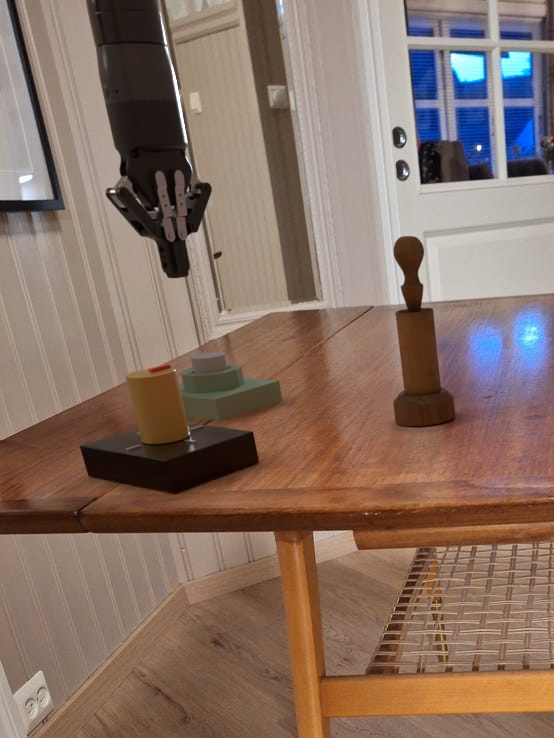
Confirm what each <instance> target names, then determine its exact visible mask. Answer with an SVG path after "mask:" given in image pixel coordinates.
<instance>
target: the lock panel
mask: <svg viewBox="0 0 554 738" xmlns="http://www.w3.org/2000/svg"><path fill="white" fill-rule="evenodd" d="M188 426H189V431H190V436H189V437H187V438H185V439H182V440H179V441H175V442H171V443H164V444H146V443H143V442H142V440H141V436H140V432H139V428H138V427H137V428H134V429H131V430H127V431H125V432H120V433H117V434H114V435H110V436H107V437H104V438H103V437H102V438H100V439H96V440H93V441H90V442H87V443H84V444H83V443H82V444H80V445H79V449H80V453H81V456H82V460H83V463H84V466H85V470H86V472H87V476H88V477H90V478H91V477H92V478H97V479H101V480H104V481H105V480H106V481H111V482H116V483H119V484H120V483H121V484H125V485H131V486H135V487H140V488H144V489H150V490H155V491H160V492H164V493H170V494H177V493H180V492H182V491H183V492H184V491H185V490H188V489H190V488H194V487H197V486H199V485H202V484H205V483H207V482H210V481H212V480H215V479H217V478H221V477H224V476H225V475H229V474H231V473H234V472H237V471H239V470H243V469H245V468H247V467H250V466H253V465H256V464H259V462H260V460H259V454H258V449H257V445H256V443H257V442H256V439H255V433H254V431H253V430H252V431H251V430H244V429H237V428H230V427H223V426H216V425H215V426H214V425H207V424H199V423H192V422H188Z"/></svg>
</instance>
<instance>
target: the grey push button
mask: <svg viewBox="0 0 554 738" xmlns="http://www.w3.org/2000/svg"><path fill="white" fill-rule="evenodd" d="M190 360H191V361H190V362H191V365H192V366H191V367H192V368H193V370H194V373H198V374H202V373H213V372H220V371H223V370H227V369H228V365H227V364H228V360H227V355H226V353H225V352H223V351H211V352H203V353H198V354H197V353H196V354H194V355H192V356H190Z"/></svg>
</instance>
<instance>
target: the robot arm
mask: <svg viewBox="0 0 554 738" xmlns="http://www.w3.org/2000/svg"><path fill="white" fill-rule="evenodd" d="M85 3H86V10H87V15H88V19H89V25H90V29H91V34H92V38H93V42H94V47H95V52H96V53H95V54H96V60H97V61H96V62H97V71H98V77H99V82H100V87H101V90H102V95H103V100H104V104H105V109H106V114H107V118H108V123H109V127H110V132H111V137H112V140H113V145H114V148H115V150H116V151H117V152H118V154H119V157H120V163H119V176H120V178H119V179H118V181H117V182H116V184H115V185H114V186H113V187H107V188H106V189H105V197H106V198H107V199H108V200H109V202H110V203H111V204H112V205H113V207H114V208H115V209H116V210H117V211H118V212H119V213H120V214H121V216H122V217H123V218H124V219H125V220H126V221H127V223H128V224H129V225H130V226H131V227H132V228H133V230H134V231H135V232H136V233H137V234H138V235H139V236H140V237H143V238H147V239H150V240H153V241H154V242H155V244H156V246H157V251H158V256H159V261H160V266H161V270H162V271H163V273H164V274H165V275H166V277H167V278H168V279H182V278H187V277H189V276H190V275H189V274H190V273H189V272H190V269H191V263H190V260H189V259H190V258H189V253H188V249H187V244H186V243H187V242H186V241H187V238H188V236H190V235H191V234H196V233H197V232H198V231H199V229H200V226H201V223H202V220H203V218H204V214H205V212H206V210H207V206H208V203H209V201H210V198H211V194H212V191H213V188H212V185H211V183H209V182H202V181H201V180H200V179H199V178H198V177H197V176H195V175H194V174H193V168H192V164H191V163H190V162H189V159H188V158H187V155H186V150H187V148H188V146H189V145H188V144H189V142H188V137H187V132H186V126H185V122H184V116H183V110H182V105H181V98H180V94H179V88H178V82H177V79H176V78H177V77H176V73H175V69H174V65H173V64H172V62H173V61H172V60H171V56H170V52H169V48H168V44H167V43H168V42H167V38H166V33H165V27H164V21H163V15H162V11H161V7H160V2H159V0H85ZM172 207H173V208H172Z"/></svg>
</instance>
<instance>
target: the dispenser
mask: <svg viewBox="0 0 554 738" xmlns="http://www.w3.org/2000/svg"><path fill="white" fill-rule="evenodd" d="M227 365H228V369H227V370H223V371H220V372H213V373H202V374H198V373H194V370H193V367H190V368H187V369H185V370H183V371H181V372H180V376H181V381H182V383H179V387H180V391H181V396H182V400H183V404H184V409H185V413H186V417H187V418H196V419H202V420H211V421H218V422H220V421H223V420H227V419H230V418H233V417H236V416H239V415H243V414H246V413H249V412H252V411H255V410H258V409H259V410H260V409H261V408H265V407H269V406H271V405H274V404H277V403H281V402H283V395H282V390H281V383H280V381H279V380H275V379H263V378H252V377H244V374H243V369H242V366H241V365H240V364H238V363H227Z"/></svg>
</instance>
